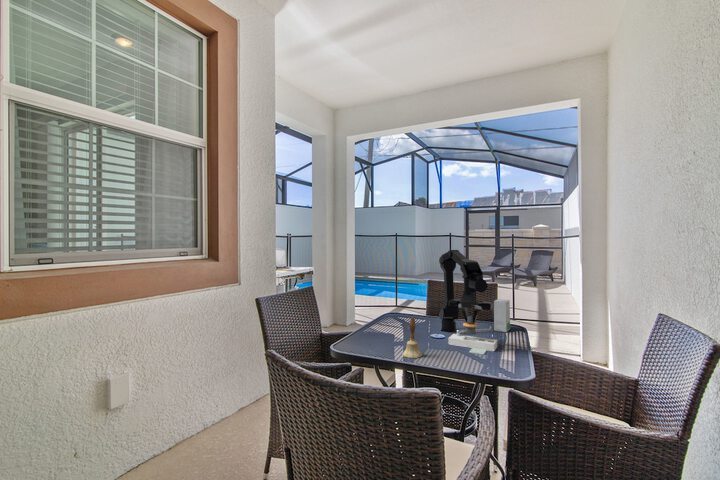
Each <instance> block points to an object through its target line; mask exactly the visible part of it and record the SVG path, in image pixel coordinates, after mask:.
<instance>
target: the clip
mask: <svg viewBox="0 0 720 480" xmlns="http://www.w3.org/2000/svg"><path fill="white" fill-rule="evenodd" d="M492 329H493V326H491V325H489V326H488V328H475V333H479V332H480V333H482V332H492V331H493V330H492ZM457 333H461V334H462V333H466V328H465V329H456V334H457Z"/></svg>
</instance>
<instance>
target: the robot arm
mask: <svg viewBox="0 0 720 480" xmlns="http://www.w3.org/2000/svg"><path fill="white" fill-rule="evenodd" d="M438 261H439V265H440V266H439V267H440V268H441V271H442V272H443V285H444V286H443V287H444V288H443V289H444V300H443V302H442V304H441V309H440V311H439V313H438V317H439V319H440V320H441V329H440V331H441V332H446V333H447V332H448V333H454V332H455V331H457V322H456V320H458V319H459V315H460V314H459V313H460V311H461V312H462V314H463V318H464V320H465V322H466V323H467V315H469V314H468V313H469V312H468V311H469V310H468V309H472V308H473V307H474V308H473V316H474V317H473V324H474V323H476V320H477V318H478V316H479V313H480V312H481V311H482V310H483V311H491V310H493V309H494V302H492V301H485V300H483V301H482V302H479V300H478V293H484V292H485V291H486V290H487V289H488V283H487V281H486V280H485V279H484V274H483V273H484V272H483V271H482V268H481V266H480V264H479V262H478V261H476V260H473V259H469V258H467V257H466V256H465V255H464V254H463V253H462V252H460V250H459V249H449V250H448V251H447V252H445V253H443V254H441V256H439V260H438ZM457 265H458V266H460V271H461V274H462V278H463V291H462V296H461V298H455V290H454V289H455V288H454V287H455V286H454V285H455V284H454V283H455V281H454V272H455V270H456V268H457ZM459 310H460V311H459Z"/></svg>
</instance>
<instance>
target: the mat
mask: <svg viewBox="0 0 720 480" xmlns="http://www.w3.org/2000/svg"><path fill="white" fill-rule="evenodd" d="M487 351H488V350H484V349H477V348H471V349H470V350H469V352H468V353H470V354H476V355H480V356H481V355H482V356H484V355H485V354H486V353H487Z"/></svg>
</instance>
